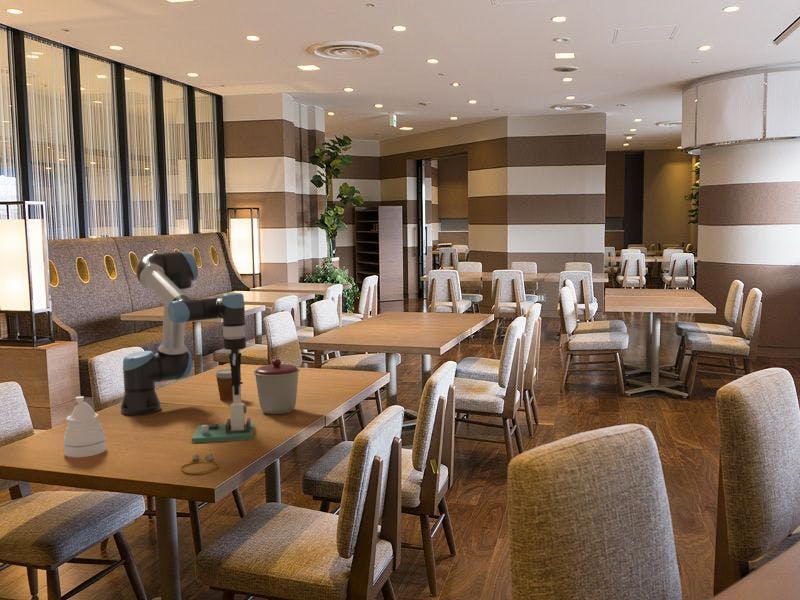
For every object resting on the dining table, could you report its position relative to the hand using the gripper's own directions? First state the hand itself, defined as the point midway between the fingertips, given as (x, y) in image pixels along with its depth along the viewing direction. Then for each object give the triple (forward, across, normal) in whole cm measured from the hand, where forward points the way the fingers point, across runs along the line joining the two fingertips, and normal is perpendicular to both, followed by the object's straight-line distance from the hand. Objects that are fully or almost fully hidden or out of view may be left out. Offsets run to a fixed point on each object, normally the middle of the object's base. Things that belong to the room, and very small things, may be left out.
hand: (237, 403), depth 261 cm
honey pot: (+11, -11, +49) cm, 51 cm away
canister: (+11, +29, -13) cm, 34 cm away
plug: (+10, 0, 0) cm, 10 cm away
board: (+11, 0, +5) cm, 12 cm away
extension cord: (+12, -34, +8) cm, 37 cm away
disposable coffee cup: (+11, +54, +9) cm, 56 cm away
